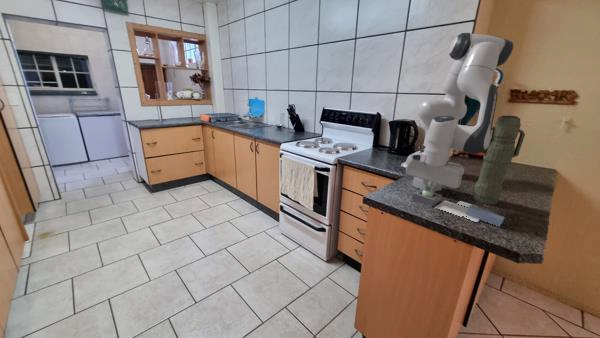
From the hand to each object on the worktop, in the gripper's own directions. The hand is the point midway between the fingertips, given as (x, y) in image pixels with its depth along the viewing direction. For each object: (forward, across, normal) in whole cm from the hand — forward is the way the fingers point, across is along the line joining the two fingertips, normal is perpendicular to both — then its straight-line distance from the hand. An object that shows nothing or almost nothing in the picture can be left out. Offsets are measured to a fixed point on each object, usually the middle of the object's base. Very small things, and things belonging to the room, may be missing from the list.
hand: (428, 190), depth 99 cm
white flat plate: (+4, -12, -1) cm, 13 cm away
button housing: (+4, 0, 0) cm, 5 cm away
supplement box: (+5, +6, -14) cm, 16 cm away
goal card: (+4, -12, -9) cm, 16 cm away
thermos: (+5, -15, -21) cm, 26 cm away
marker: (+2, -15, -1) cm, 15 cm away
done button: (+4, 0, 0) cm, 4 cm away
